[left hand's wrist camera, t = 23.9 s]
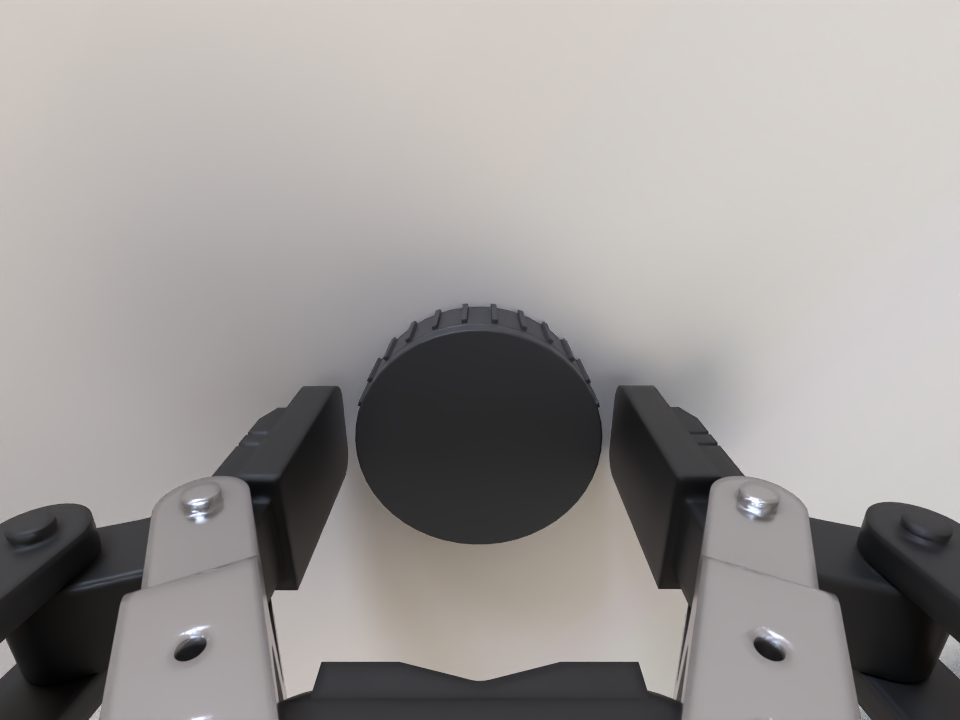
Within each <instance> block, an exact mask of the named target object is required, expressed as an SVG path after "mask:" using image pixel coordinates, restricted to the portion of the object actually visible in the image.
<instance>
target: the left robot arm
mask: <svg viewBox="0 0 960 720" xmlns="http://www.w3.org/2000/svg"><path fill="white" fill-rule="evenodd" d="M609 458H610V468H611V473H612V476H613V479H614V481H615V484H616V486H617V489H618V491H619V494H620V496H621V498H622V501H623V503H624V506H625V508H626V511H627V513H628V516H629V518H630V520H631V523H632V525H633V528H634V530H635V533H636V535H637V538H638V540H639V542H640V545H641V547H642V550H643V552H644V555H645V557H646V559H647V562H648V564H649V567H650V569H651V572H652V574H653V577H654V579H655V581H656V584H657V586H658V589H682V591H683V594H684V596H685V598H686V600H687V602H688V607H687V612H686V617H685V624H684V630H683V637H682V643H681V650H680V656H679V663H678V669H677V676H676V682H675V689H674V695H673V699H672V698H669V697H667V696H664V695H661V694H658V693H655V692H651V691H647V688H646V685H645V682H644V678H643V675H642V672H641V669H640V666H639V662H558V663H554V664H550V665H547V666H543V667H539V668H535V669H531V670H527V671H523V672H519V673H515V674H511V675H507V676H503V677H499V678H495V679H491V680H486V681H474V680H469V679H465V678H461V677H457V676H453V675H449V674H445V673H441V672H437V671H433V670H429V669H425V668H421V667H417V666H413V665H410V664H406V663H402V662H321V666H320V669H319V672H318V675H317V678H316V682H315V685H314V688H313V691H309V692H305V693H302V694H299V695H296V696H293V697H291V698H288V699H287V695H286V689H285V682H284V676H283V669H282V663H281V656H280V650H279V643H278V637H277V630H276V624H275V617H274V612H273V607H272V602H271V597H272V595H273V592H274V590H298V588H299V586H300V583H301V581H302V579H303V576H304V574H305V571H306V569H307V567H308V564H309V562H310V559H311V557H312V555H313V552H314V550H315V547H316V545H317V543H318V540H319V538H320V535H321V533H322V531H323V528H324V526H325V523H326V521H327V519H328V516H329V514H330V511H331V509H332V507H333V504H334V502H335V499H336V497H337V495H338V492H339V490H340V487H341V485H342V483H343V480H344V478H345V475H346V471H347V464H348V446H347V437H346V427H345V418H344V409H343V400H342V394H341V390H340V388H339V387H338V386H303V387H302V388H301V389H300V391H299V392H298V393H297V395H296V396H295V397H294V399H293V400H292V401H291V403H290V404H289V405H288V407H287V408H277V409H275V410H274V411H272V412H270V413H269V414H267V415H265V416H264V417H262V418H260V419H259V420H258V421H257V422H256V424H255V425H254V426H253V427H252V428H251V430H250V431H249V432H248V435H246V436H245V437H244V438H243V439H242V441H241V442H240V443H239V446H237V447H236V448H235V449H234V450H233V451H232V453H231V454H230V455H229V456H228V457H227V459H226V460H225V461H224V462H223V463H222V465H221V466H220V467H219V468H218V469H217V471H216V472H215V473H214V474H213V475H212V477H207V478H202V479H198V480H195V481H192V482H189V483H186V484H184V485H182V486H179V487H178V488H176V489H174V490H172V491H171V492H169V493H168V494H166V495H165V496H164V497H163V498H161V499H160V500H159V501H158V503H157V504H156V505H155V507H154V508H153V511H152V515H151V517H150V518H146V519H142V520H137V521H132V522H127V523H121V524H116V525H111V526H106V527H101V528H96V525H95V522H94V519H93V516H92V513H91V511H90V510H89V509H88V508H87V507H85V506H82V505H79V504H57V505H50V506H46V507H42V508H38V509H35V510H31V511H28V512H26V513H23V514H20V515H18V516H16V517H13V518H11V519H9V520H7V521H5V522H3V523H1V524H0V643H1V642H2V641H3V640H4V639H5V638H6V641H7V643H8V645H9V647H10V649H11V651H12V654H13V656H14V658H15V660H16V662H17V664H16V665H15V666H14V667H13V668H11V669H10V670H9V671H8V672H7V673H6V674H5V675H4V676H3V677H2V678H1V679H0V720H89V718H90V717H91V716H92V715H93V714H94V712H95V711H96V710H97V709H98V707H99V706H100V705H101V704H102V706H101V711H100V717H99V720H861V717H860V711H859V706H858V704H859V705H860V706H861V707H862V709H863V710H864V711H865V712H866V714H867V715H868V716H869V717H870V718H871V720H960V679H959V678H958V677H957V676H956V675H955V674H954V673H953V672H952V671H951V670H950V669H948V668H947V667H946V666H945V665H944V664H943V663H942V662H941V661H940V660H939V656H940V654H941V652H942V650H943V648H944V645H945V643H946V641H947V639H948V637H949V634H950V635H951V636H952V637H954V638H955V639H956V640H957V641H958V642H959V643H960V524H959V523H957V522H956V521H954V520H952V519H950V518H948V517H946V516H943V515H941V514H939V513H936V512H934V511H931V510H928V509H925V508H922V507H918V506H914V505H910V504H904V503H897V502H882V503H877V504H874V505H872V506H870V507H869V508H868V510H867V511H866V514H865V517H864V520H863V523H862V526H861V528H860V527H855V526H850V525H845V524H840V523H835V522H830V521H824V520H819V519H814V518H810V517H809V515H808V511H807V508H806V507H805V505H804V504H803V503H802V501H801V500H800V499H799V498H797V497H796V496H795V495H794V494H792V493H791V492H789V491H788V490H786V489H784V488H782V487H781V486H778V485H776V484H774V483H771V482H768V481H765V480H762V479H758V478H753V477H746V476H744V475H743V473H742V472H741V471H740V470H739V468H738V467H737V466H736V465H735V464H734V462H733V461H732V460H731V459H730V458H729V456H728V455H727V454H726V453H725V451H724V450H723V449H722V448H721V447H720V446H718V445H717V442H716V440H715V439H714V438H713V437H712V436H711V434H708V431H707V429H706V428H705V427H704V426H703V425H702V423H701V422H700V421H699V420H698V418H696V417H694V416H693V415H691V414H689V413H688V412H686V411H684V410H683V409H681V408H679V407H670V406H669V405H668V404H667V402H666V401H665V400H664V398H663V397H662V396H661V394H660V393H659V392H658V390H657V389H656V388H655V387H654V386H618V388H617V390H616V394H615V401H614V411H613V420H612V430H611V439H610V450H609Z"/></svg>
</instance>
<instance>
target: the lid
mask: <svg viewBox="0 0 960 720" xmlns="http://www.w3.org/2000/svg"><path fill="white" fill-rule="evenodd" d="M367 381H368V384H367V386H366V388H365V390H364V392H363V394H362V396H361V398H360V401H359V404H358V406H360V409H359V412H358V417H357V423H356V436H355V441H356V450H357V456H358V460H359V463H360V467H361V470H362V472H363V474H364V477H365V479H366V481H367V483H368V485H369V486H370V488H371V490H372V491H373V493H374V494H375V495H376V497H377V498H378V499H379V500H380V502H381V503H382V504H383V505H384V506H385V507H386V508H387V509H388V510H389V511H390V512H391V513H392V514H393V515H395V516H396V517H397V518H399V519H400V520H401V521H403V522H404V523H406V524H408V525H409V526H411V527H413V528H414V529H416V530H418V531H421V532H423V533H425V534H427V535H430V536H433V537H436V538H439V539H442V540H446V541H451V542H456V543H464V544H493V543H502V542H507V541H511V540H515V539H519V538H522V537H525V536H528V535H530V534H533V533H535V532H537V531H539V530H541V529H543V528H545V527H547V526H548V525H550V524H551V523H553V522H555V521H556V520H557V519H559V518H560V517H561V516H562V515H564V514H565V513H566V512H567V511H568V510H569V509H570V508H571V507H572V506H573V505H574V504H575V503H576V502H577V501H578V500H579V498H580V497H581V496H582V494H583V493H584V492H585V490H586V489H587V487H588V485H589V483H590V482H591V480H592V478H593V475H594V473H595V470H596V468H597V465H598V461H599V457H600V453H601V444H602V428H601V420H600V416H599V411H598V407H600V406H599V402H598V400H597V398H596V396H595V394H594V392H593V390H592V388H591V386H590V384H589V383H591V381H590V379H589V377H588V375H587V373H586V371H585V369H584V367H583V365H582V363H581V361H580V359H578V360H575V358H574V356H573V353H572V351H571V349H570V347H569V345H568V343H567V341H566V340H565V339H563V340H562V341H561V340H560V339H559V338H558V337H557V336H556V335H555V334H554V333H552V332H551V331H550V330H549V327H548V325H547V324H546V323H545V322H543V323H542V324H539V323H537V322H536V321H534V320H532V319H530V318H528V317H525V316H524V313H523V311H520V310H518V313H515V312H511V311H507V310H503V309H498V308H496V305H495V304H491V308H489V307H468V304H463V308H461V309H454V310H450V311H446V312H443V313H441V310H437V311H436V312H435V316H432V317H430V318H427V319H425V320H423V321H422V322H420V323H418V324H417V323H416V321H414V322H413V323H411V326H410V328H409V330H408V331H407V332H405V333H404V334H403V335H402V336H401V337H400V338H399V339H398V340H397V339H396V338H393V339H392V340H391V343H390V345H389V347H388V349H387V351H386V353H385V355H384V357H383V359H381V358H378V360H377V362H376V364H375V366H374V368H373V370H372V372H371V374H370V376H369V378H368V380H367Z"/></svg>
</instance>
